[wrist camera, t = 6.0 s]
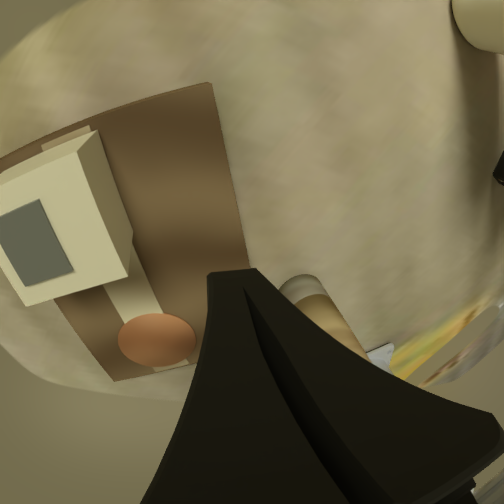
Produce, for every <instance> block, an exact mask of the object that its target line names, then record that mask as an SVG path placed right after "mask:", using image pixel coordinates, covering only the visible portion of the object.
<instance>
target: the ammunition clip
mask: <svg viewBox="0 0 504 504" xmlns="http://www.w3.org/2000/svg"><path fill="white" fill-rule="evenodd" d="M493 176H494V178H495V179H496V180H497V181H498V182H499V184H501V185H503V186H504V151H503V153H502V155H501V157H500V160H499V162H498V164H497V166H496V168H495V170H494V172H493Z"/></svg>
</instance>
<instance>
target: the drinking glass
mask: <svg viewBox="0 0 504 504" xmlns="http://www.w3.org/2000/svg"><path fill="white" fill-rule="evenodd" d="M452 10H453V15H454V18H455V21H456V24H457V26H458V28H459V30H460V32H461V33H462V35H463V36H464V38H465V39H466V40H467V41H468V42H469V43H470V44H471V45H473V46H474V47H476V48H478V49H480V50H483V51H488V52H493V53H498V54H502V55H504V0H452Z"/></svg>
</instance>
